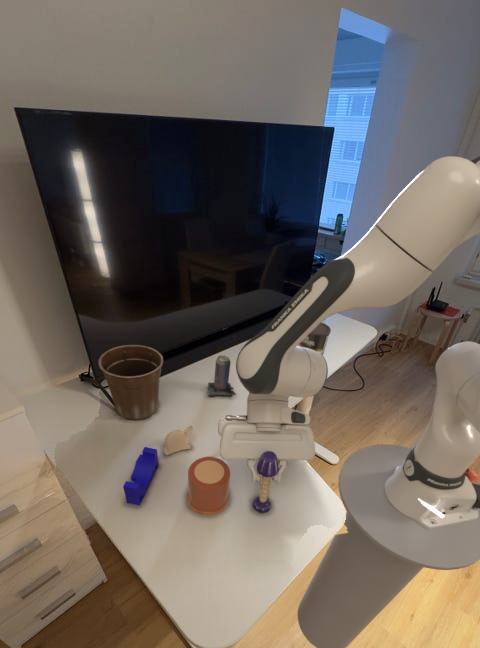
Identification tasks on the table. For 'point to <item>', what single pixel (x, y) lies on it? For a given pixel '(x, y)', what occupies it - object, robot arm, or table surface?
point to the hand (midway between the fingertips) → (266, 481)
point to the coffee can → (317, 338)
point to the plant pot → (133, 379)
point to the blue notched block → (141, 476)
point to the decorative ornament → (177, 441)
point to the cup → (208, 485)
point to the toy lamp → (265, 480)
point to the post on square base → (221, 379)
